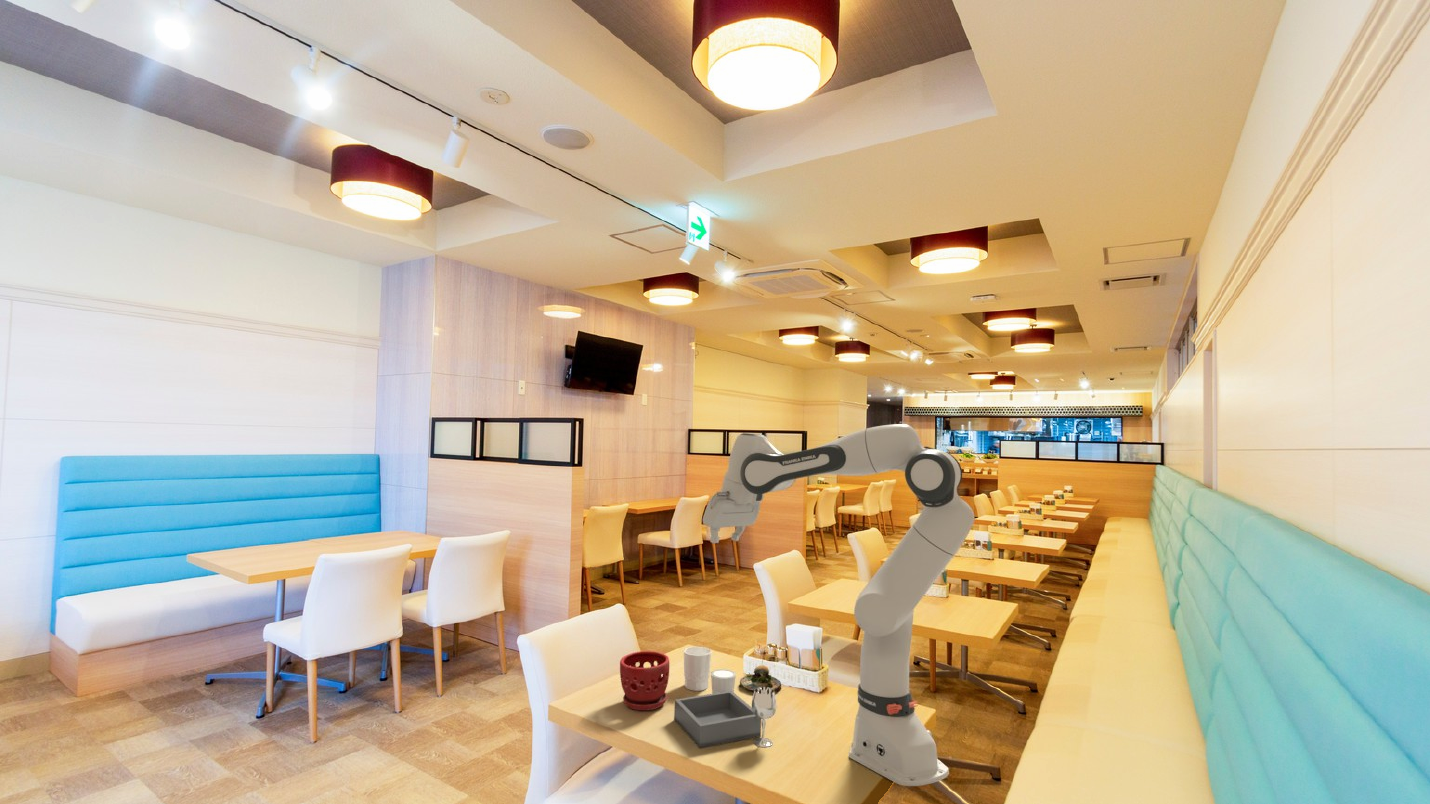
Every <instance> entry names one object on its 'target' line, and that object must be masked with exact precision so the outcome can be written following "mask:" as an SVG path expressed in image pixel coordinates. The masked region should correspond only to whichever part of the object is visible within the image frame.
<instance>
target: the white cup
mask: <svg viewBox="0 0 1430 804" xmlns="http://www.w3.org/2000/svg"><path fill="white" fill-rule="evenodd" d="M711 661H712V649H710V648H708V647H705V646H691V647H686V648H685V649H684V650H683V672H684V673H683V674H684V687H685V689H687V690H689V691H695V692H700V691H705V690H706V689H708V688H709V679H710V675H711Z"/></svg>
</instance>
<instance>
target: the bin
mask: <svg viewBox="0 0 1430 804" xmlns="http://www.w3.org/2000/svg"><path fill="white" fill-rule="evenodd" d="M673 721H674V722H675V723H676V724H677V725H678V726H679V727H680V728H681V730H683V731H684V733H685V734H686V735H687V736H688V737H689V739H691V740H692V742H694V744H695V745H696V746H697V747H698V748H699V749H704V748H709V747H714V746H719V745H723V744H728V743H729V744H731V743H734V742H739V741H743V740H749V739H750V740H751V739H754V738H755V739H756V738H761V737H762V735H761V734H762V732H761V731H762V719H760V718H758V717H757V716H755V715H754V713H753V711H752V705H750V704H748V703H747V702H746V701H745V700H744V699H742V698H741V697H740V696H739V695H737V694H736V693H735V691H734V692H732V691H726V692H720V693H714V694H712V693H709V694H708V693H707V694H703V695H695V696H691V697H684V698H675V699H674V715H673Z"/></svg>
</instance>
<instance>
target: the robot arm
mask: <svg viewBox="0 0 1430 804" xmlns="http://www.w3.org/2000/svg"><path fill="white" fill-rule="evenodd" d="M891 471H901V472H903V473H904V477H905V482H906V485H907V486H908V488H909V489H910V490H911V492H912V493H913V494H914V495H915V497H916V498H917V499H918V500H919V501H920V503H921V504H922V505H923V509H922V511H921V513H920V514H919V515H918V517H917V519H916V520H915V521H914V522H913V523H912V525H911V526H910V528H909V529H908V531H907V532H906V533H905V535H904V536H903V537H902V538H901V540H900V541H899V543H898V544H897V546H896V547H895V548H894V550H893V551H892V552H891V553H890V554H889V556H888V557H887V559H885V561H884V562H883V563H882V564H881V566H880V567H879V568H878V570H877V571H876V572H875V573H874V575H873V576H872V577H871V579H870V580H869V581H868V582H867V583H866V584H865V587H864V588H863V589H862V590H861V592H860V593H859V594H858V595H857V599H856V601H855V604H854V611H853V614H854V619H855V621H856V624H857V626H858V627H859V628H860V629H861V630H862V632H863V639H862V643H861V647H860V658H859V659H860V663H859V665H860V669H859V670H860V671H859V672H860V673H859V684H858V686H857V702H858V710H857V713H856V717H855V721H854V730H853V738H852V743H851V748H850V749H849V752H848V753H849V754H848V757H849V758H850V759H852V760H854V761H855V762H857V763H859V764H861V765H862V766H864V767H866V768H868V769H869V770H872V771H874V772H875V773H876V774H879V775H881V776H883V777H884V778H886V779H888V780H889V781H892V782H893V783H895V784H898V785H900V786H902V787H903V786H904V787H919V786H925V785H929V784H930V785H931V784H933V783H936V782H939V781H942V780H943V779H946V778H947V777H948V776H949V774H950V770H949V767H948V766H947V765H946V764H944V763H943V762H942V761H941V760H940V759H938V750H937V744H936V742H935V739H934V738H933V735H932V732H931V731H930V730H928V729H927V728H926V726H925V724H923V723H922V721H921V719H920V718H919V716H918V715H917V713H916V712H915V710H916V707H918V705H917V703H918V702H919V701H918V700H915V701H914V700H913V696H912V692H911V690H910V654H911V653H910V652H911V645H912V636H913V622H914V610H915V608H916V607H917V606H918V604H919V603H920V602H921V600H922V599H923V597H924V596H925V595H926V594H927V593H928V592H929V590H930V589H931V587H932V586H933V584H934V583H935V582H936V581H937V579H938V578H939V577H940V576H941V574H942V573H943V571H944V570H945V568H947V566H948V565H949V563H950V562H951V561H952V560H953V558H954V557H955V556H956V554H957V553H958V552H959V550H960V548H961V547H962V545H963V544H964V542H965V540H966V539H967V537H968V536H969V534H970V532H971V529H972V527H973V525H974V523H975V513H974V511H973V509H972V507H971V506H970V505H969V503H968V502H966V501H965V500H964V499H962V498H961V497H960V495H959V494H958V488H959V487H960V485H961V482H962V480H963V469H962V466H961V464H960V461H958V459H956V457H955V456H953V455H952V454H950V453H949V452H946V451H943V450H941V449H935V448H934V447H933V448H932V447H929V446H923V444H922V443H921V438H920V436H919V434H918V433H917V431H916V429H915V428H913V427H912V426H911V425H909V424H906V423H898V424H897V423H893V424H886V425H885V424H884V425H879V426H878V425H877V426H872V427H867V428H863V429H860V430H857V431H854V432H851V433H848V434H845V435H842V436H841V437H839V438H836V439H833V440H831V441H829V442H826V443H824V444H822V445H819V446H816V447H813V448H810V449H805V450H800V451H796V452H795V451H794V452H789V453H785V454H784V453H782V452H781V451H780V450H778V449H777V448H776V447H775V446H774V445H773V444H772V443H771V442H770V441H769V439H768V437H767V436H766V435H764V434H760V433H750V432H744V433H740V434H738V436H736V439H735V441H734V443H733V446H732V448H731V452H730V456H729V458H728V467H727V471H726V473H725V474H724V476H723V481H722V485H721V489H720V491H717V492H716V493H714V494H713V495H712V497H711V498H710V499H709V501H708V503H707V505H706V508H705V511H704V514H703V517H702V524H703V525H705V526H706V527H708V528H709V531H710V539H709V541H710V543H712V544H719V541H720V539H721V538H720V536H719V532H720V530H721V528H731V527H733V528H734V527H735V530H734V532H732V533H731V537H730V539H731V541H734V542H738V541H740V537H741V536H742V534H743V532H744V531H745V529H746V526H753V525H754V524H755V523H756V521H757V519H758V517H759V512H760V510H761V502H762V501H763V499H764V498H765V497H764V496H765V495H764V494H767V493H772V492H778V491H779V492H780V491H784V490H786V489H789V488H790V487H792V486H793V484H794V483H795V482H796V480H798V479H803V478H807V477H812V476H819V475H832V476H833V475H834V476H835V475H836V476H846V477H849V476H853V477H856V476H857V477H859V476H870V475H876V474H880V473H885V472H891Z"/></svg>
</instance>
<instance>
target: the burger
mask: <svg viewBox="0 0 1430 804" xmlns="http://www.w3.org/2000/svg"><path fill="white" fill-rule="evenodd" d="M763 660H764V659H762V660H761V661H762V662H761V665H757V666H756V667H755V668H753V669H754V670H753V674H750V672H748V674H746V675H745V676H743V677H741V679H740V680H739V688H741V687H743V688H746V689H747V690H749V691H754V690H755V689H756V688H758V687H768V688H771V689H773V690H774V691H775V690H777V689H778V690H777V692H781V690H782V683H781V681H780V680H779V679H778V678H777V677H774V676H772V675H771V674H770V669H769V668H768V666H765V665H763V662H764V661H763Z"/></svg>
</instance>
